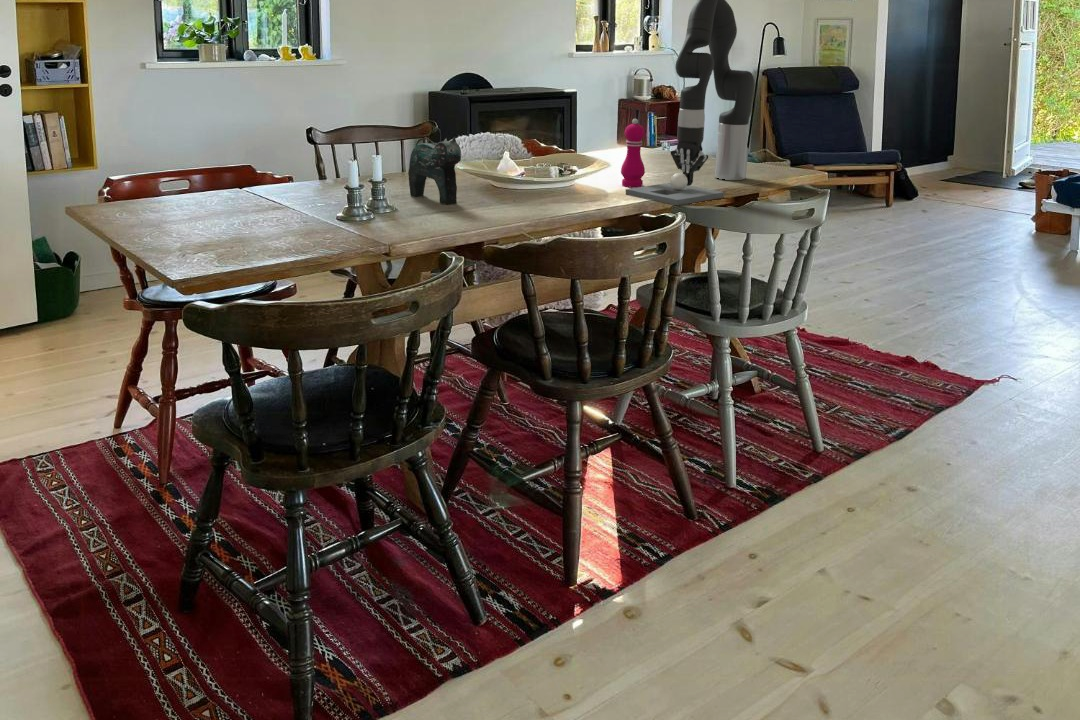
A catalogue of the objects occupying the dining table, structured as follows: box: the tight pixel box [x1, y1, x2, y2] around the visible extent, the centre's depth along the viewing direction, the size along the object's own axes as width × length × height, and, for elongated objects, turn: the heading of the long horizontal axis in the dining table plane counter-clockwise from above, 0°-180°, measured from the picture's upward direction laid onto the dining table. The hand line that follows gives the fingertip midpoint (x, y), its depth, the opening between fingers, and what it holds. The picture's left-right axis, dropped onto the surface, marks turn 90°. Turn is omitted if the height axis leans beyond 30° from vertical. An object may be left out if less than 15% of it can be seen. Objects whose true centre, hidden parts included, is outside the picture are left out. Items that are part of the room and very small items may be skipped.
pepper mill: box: [620, 118, 646, 188], centre depth 318 cm, size 7×7×20 cm
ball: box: [669, 172, 688, 190], centre depth 307 cm, size 5×5×5 cm
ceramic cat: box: [407, 127, 462, 206], centre depth 292 cm, size 20×6×20 cm, turn 41°
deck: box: [625, 182, 725, 206], centre depth 307 cm, size 20×20×2 cm
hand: (687, 185), depth 309 cm, fingers closed
